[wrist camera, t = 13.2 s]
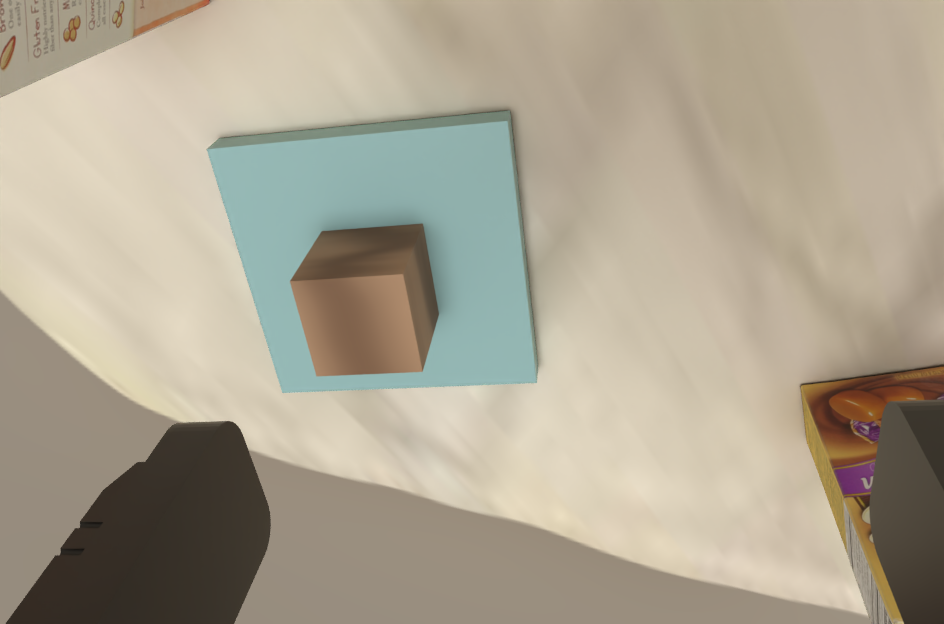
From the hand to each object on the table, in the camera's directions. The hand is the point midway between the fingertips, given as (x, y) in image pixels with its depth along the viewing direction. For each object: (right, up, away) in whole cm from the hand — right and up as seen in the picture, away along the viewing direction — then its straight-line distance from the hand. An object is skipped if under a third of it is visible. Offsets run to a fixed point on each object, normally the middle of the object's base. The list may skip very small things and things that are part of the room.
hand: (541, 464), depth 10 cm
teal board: (-5, +5, +30) cm, 31 cm away
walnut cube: (-5, +4, +29) cm, 30 cm away
